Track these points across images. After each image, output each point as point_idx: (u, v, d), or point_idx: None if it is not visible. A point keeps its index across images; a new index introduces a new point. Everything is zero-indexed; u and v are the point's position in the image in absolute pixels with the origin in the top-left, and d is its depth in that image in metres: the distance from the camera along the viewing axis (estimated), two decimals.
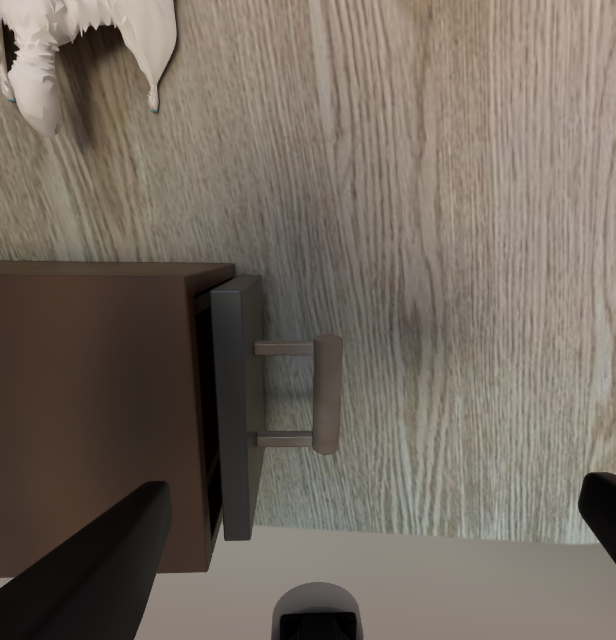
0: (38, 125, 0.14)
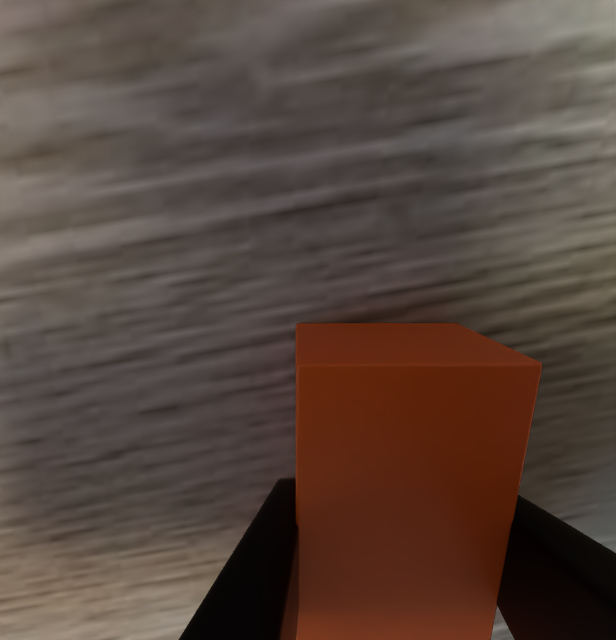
0: None
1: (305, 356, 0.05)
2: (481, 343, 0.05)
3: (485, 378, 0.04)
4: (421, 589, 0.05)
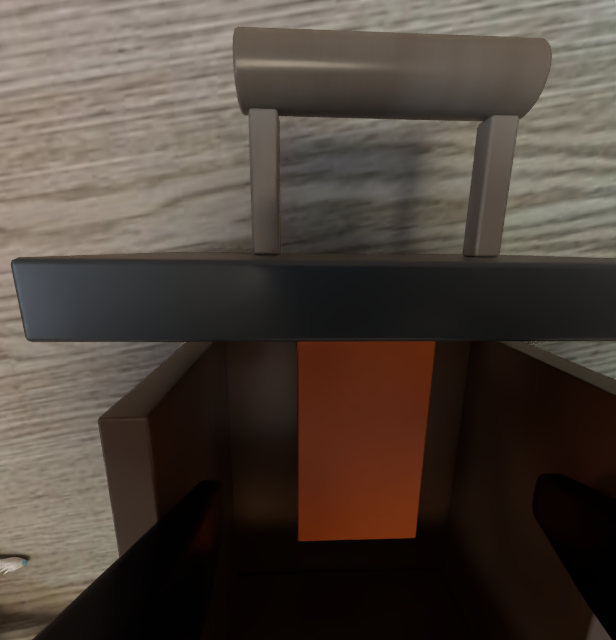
0: None
1: None
2: None
3: None
4: (374, 457, 0.09)
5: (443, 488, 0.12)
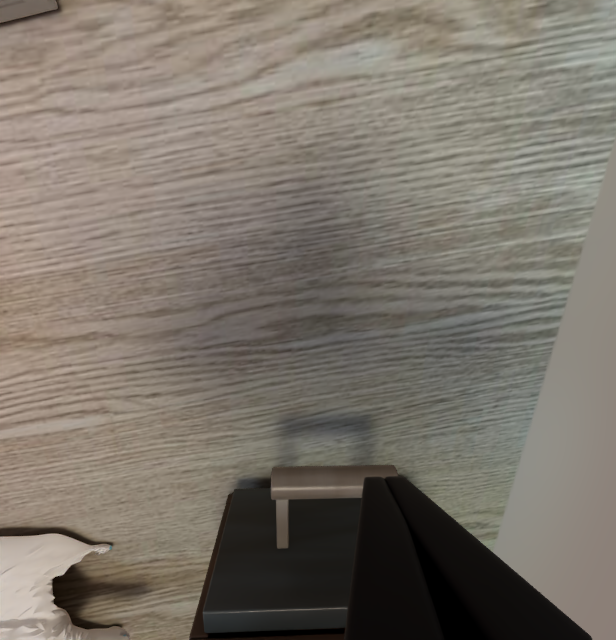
0: None
1: None
2: None
3: None
4: None
5: None
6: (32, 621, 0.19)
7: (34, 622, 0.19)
